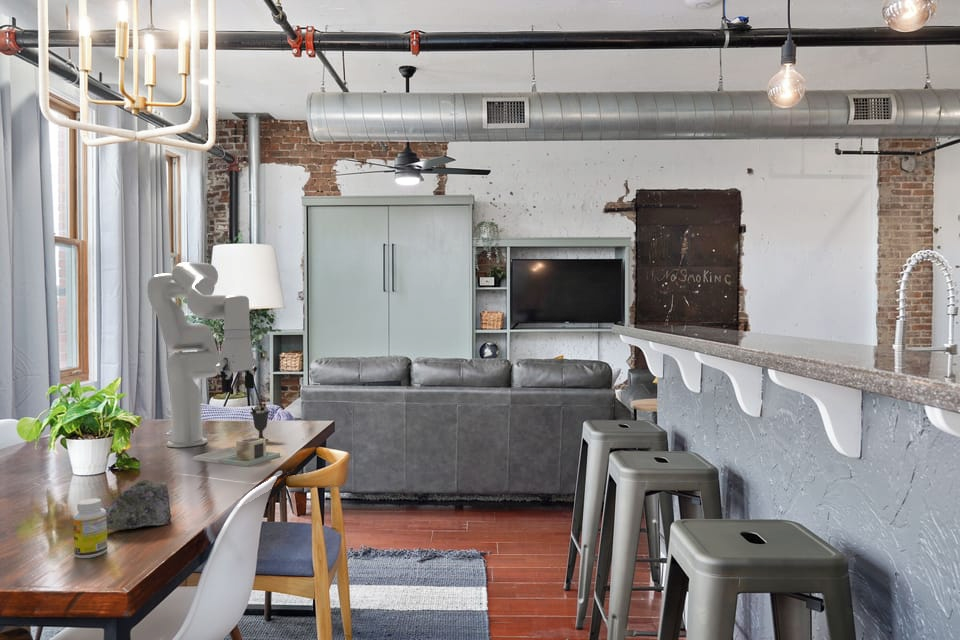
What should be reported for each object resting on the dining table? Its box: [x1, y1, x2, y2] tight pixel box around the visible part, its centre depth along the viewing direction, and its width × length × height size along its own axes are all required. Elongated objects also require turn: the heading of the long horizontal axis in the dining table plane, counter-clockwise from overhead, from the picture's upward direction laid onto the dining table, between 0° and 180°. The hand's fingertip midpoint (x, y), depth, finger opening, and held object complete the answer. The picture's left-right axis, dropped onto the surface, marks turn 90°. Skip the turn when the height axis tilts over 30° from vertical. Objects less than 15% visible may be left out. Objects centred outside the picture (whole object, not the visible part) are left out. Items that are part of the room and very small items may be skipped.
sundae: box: [250, 397, 271, 442], centre depth 237 cm, size 7×7×15 cm
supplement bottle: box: [72, 498, 108, 559], centre depth 130 cm, size 6×6×10 cm
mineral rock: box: [102, 479, 172, 531], centre depth 146 cm, size 13×11×10 cm
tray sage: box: [221, 450, 281, 467], centre depth 206 cm, size 10×14×2 cm
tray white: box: [193, 446, 237, 464], centre depth 211 cm, size 10×14×2 cm
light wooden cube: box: [235, 437, 267, 462], centre depth 206 cm, size 6×6×6 cm
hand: (238, 390), depth 211 cm, fingers open, 9 cm apart
